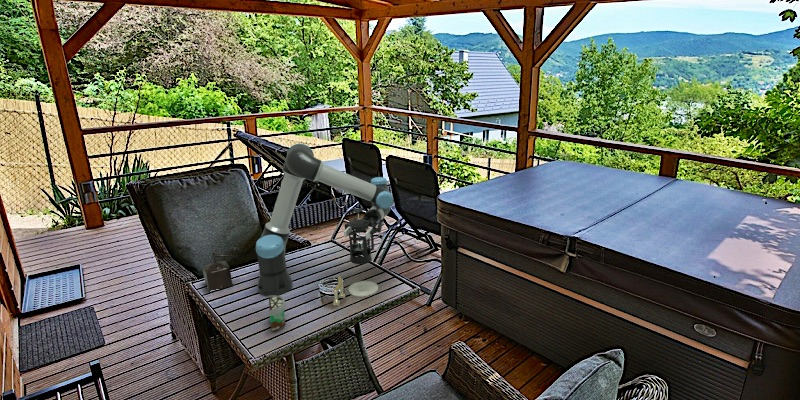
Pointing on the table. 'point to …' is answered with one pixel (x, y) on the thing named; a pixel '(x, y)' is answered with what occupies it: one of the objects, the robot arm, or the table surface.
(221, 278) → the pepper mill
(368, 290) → the coaster
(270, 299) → the food container
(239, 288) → the table surface
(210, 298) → the table surface
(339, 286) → the ceiling spotlight
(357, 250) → the french press
